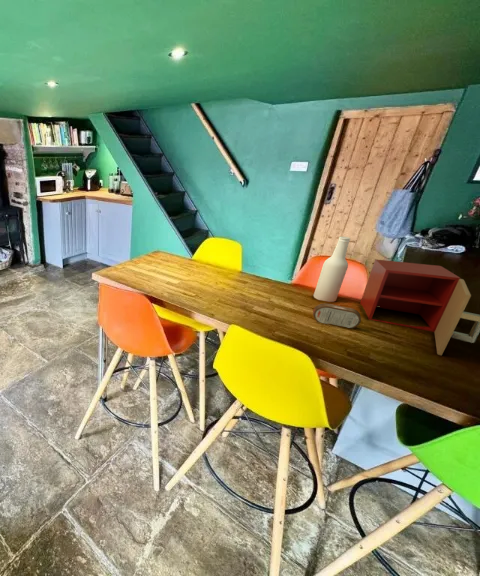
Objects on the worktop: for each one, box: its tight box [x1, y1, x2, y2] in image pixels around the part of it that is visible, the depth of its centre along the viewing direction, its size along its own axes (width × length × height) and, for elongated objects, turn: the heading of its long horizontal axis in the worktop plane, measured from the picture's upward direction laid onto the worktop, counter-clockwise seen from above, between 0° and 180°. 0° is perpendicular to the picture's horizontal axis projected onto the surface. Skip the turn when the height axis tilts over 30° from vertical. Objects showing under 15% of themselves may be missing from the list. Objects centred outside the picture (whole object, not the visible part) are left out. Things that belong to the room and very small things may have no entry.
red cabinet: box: [359, 259, 461, 333], centre depth 121 cm, size 16×20×22 cm
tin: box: [312, 302, 362, 329], centre depth 118 cm, size 15×3×8 cm, turn 59°
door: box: [433, 278, 480, 356], centre depth 101 cm, size 6×20×22 cm, turn 136°
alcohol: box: [313, 236, 351, 303], centre depth 137 cm, size 9×9×30 cm
